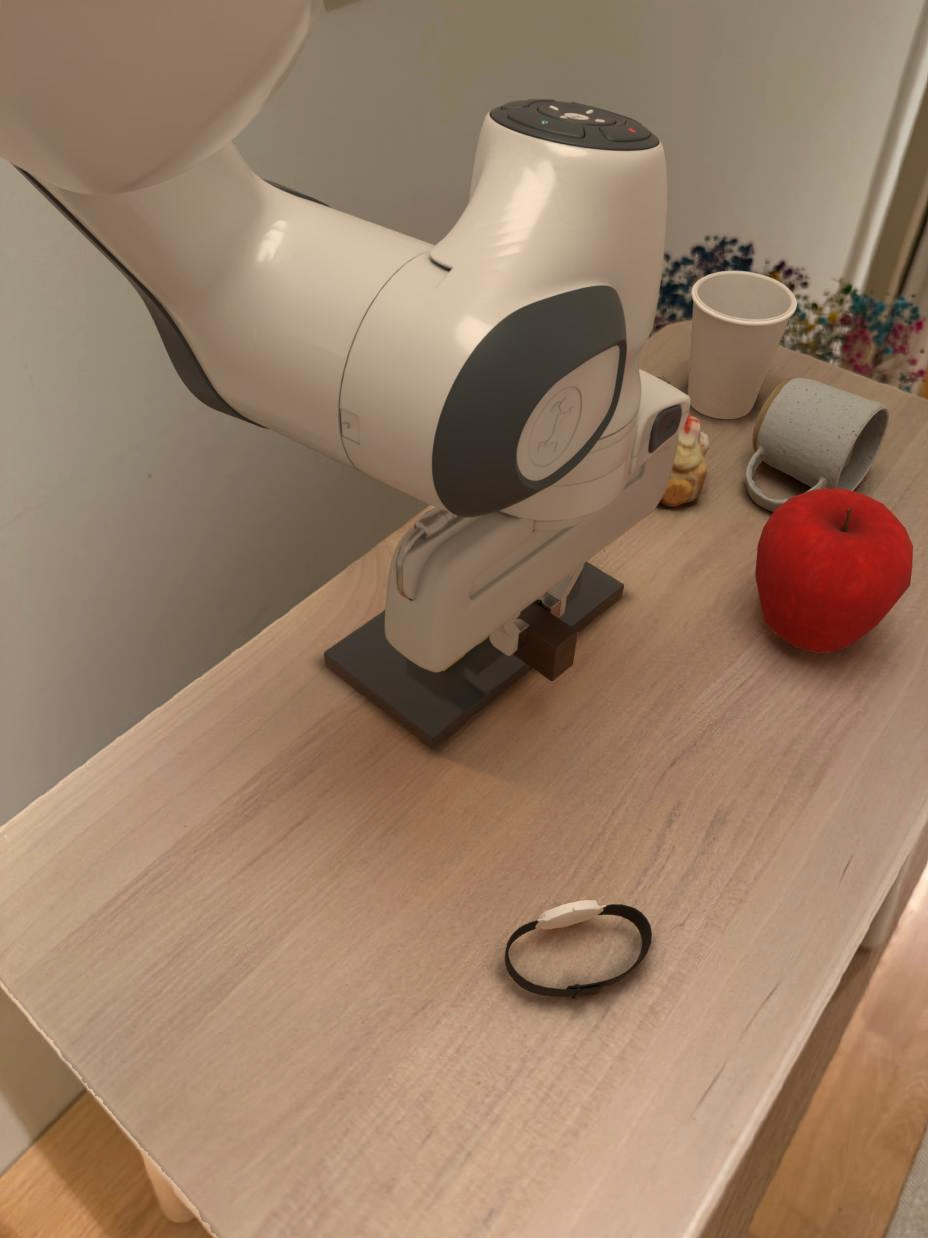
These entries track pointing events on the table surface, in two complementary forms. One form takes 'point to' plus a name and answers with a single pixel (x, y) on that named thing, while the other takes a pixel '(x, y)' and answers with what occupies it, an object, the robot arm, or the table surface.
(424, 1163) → the table surface
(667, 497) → the ornament
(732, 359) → the dixie cup
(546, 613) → the dark brown boxy part
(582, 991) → the watch
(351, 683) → the butter dish
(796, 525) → the apple
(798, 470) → the ceramic mug
